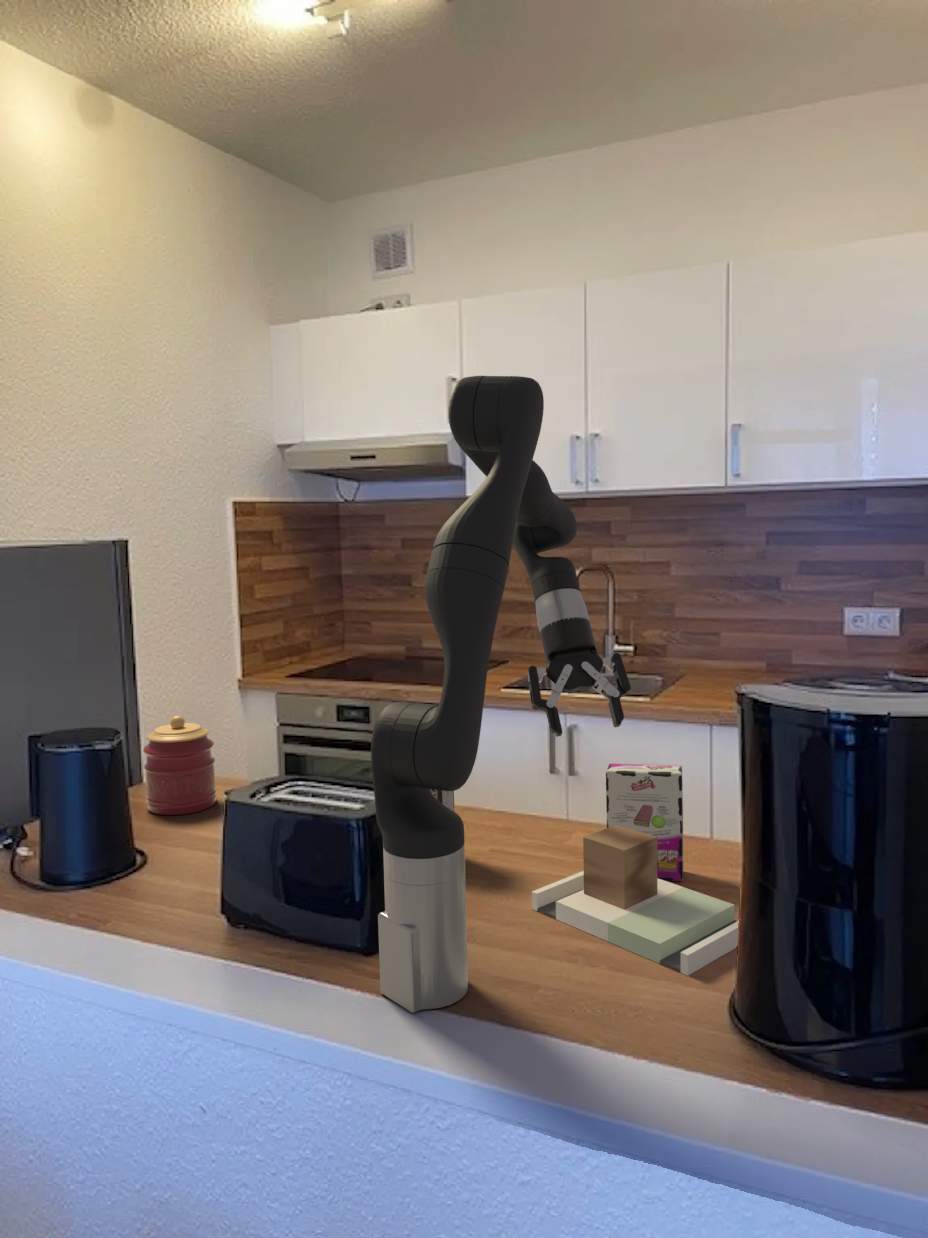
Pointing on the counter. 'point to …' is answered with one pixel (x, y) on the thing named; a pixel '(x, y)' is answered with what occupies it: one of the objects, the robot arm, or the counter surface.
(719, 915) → the platform
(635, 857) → the walnut block
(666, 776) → the candy bar box
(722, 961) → the counter surface
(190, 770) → the canister
